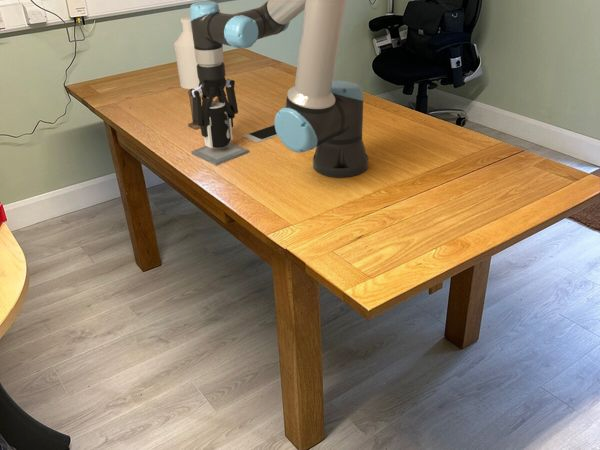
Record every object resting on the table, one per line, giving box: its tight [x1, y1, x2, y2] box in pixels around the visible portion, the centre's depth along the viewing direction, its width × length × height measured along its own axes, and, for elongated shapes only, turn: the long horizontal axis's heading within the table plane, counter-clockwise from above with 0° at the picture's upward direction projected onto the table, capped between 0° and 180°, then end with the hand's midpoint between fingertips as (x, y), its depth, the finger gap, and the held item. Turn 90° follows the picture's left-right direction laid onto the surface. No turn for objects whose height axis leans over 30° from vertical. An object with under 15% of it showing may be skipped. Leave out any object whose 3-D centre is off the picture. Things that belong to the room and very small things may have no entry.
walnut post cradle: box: [187, 88, 219, 130], centre depth 183 cm, size 18×4×13 cm, turn 44°
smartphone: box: [243, 124, 278, 144], centre depth 184 cm, size 7×15×1 cm, turn 132°
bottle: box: [173, 16, 199, 90], centre depth 223 cm, size 12×12×25 cm
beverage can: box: [208, 100, 231, 148], centre depth 167 cm, size 7×7×12 cm
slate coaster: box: [190, 141, 250, 166], centre depth 171 cm, size 12×12×1 cm
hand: (219, 142), depth 170 cm, fingers closed on beverage can, 7 cm apart
